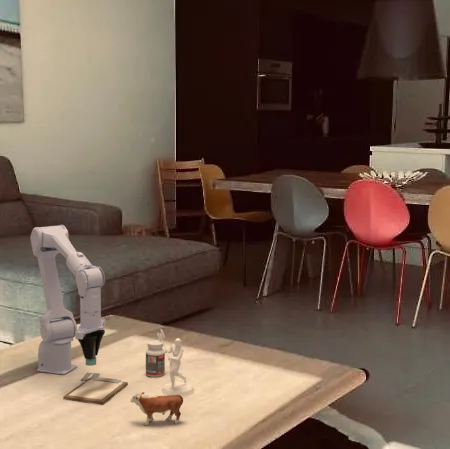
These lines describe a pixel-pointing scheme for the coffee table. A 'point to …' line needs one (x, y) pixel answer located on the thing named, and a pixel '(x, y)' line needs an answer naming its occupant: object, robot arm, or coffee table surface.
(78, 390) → the brown picture frame
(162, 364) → the pill bottle
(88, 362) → the marker
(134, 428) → the coffee table surface
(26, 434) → the coffee table surface
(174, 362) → the figurine
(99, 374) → the grey slotted plate
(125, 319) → the coffee table surface
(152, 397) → the bull figurine
